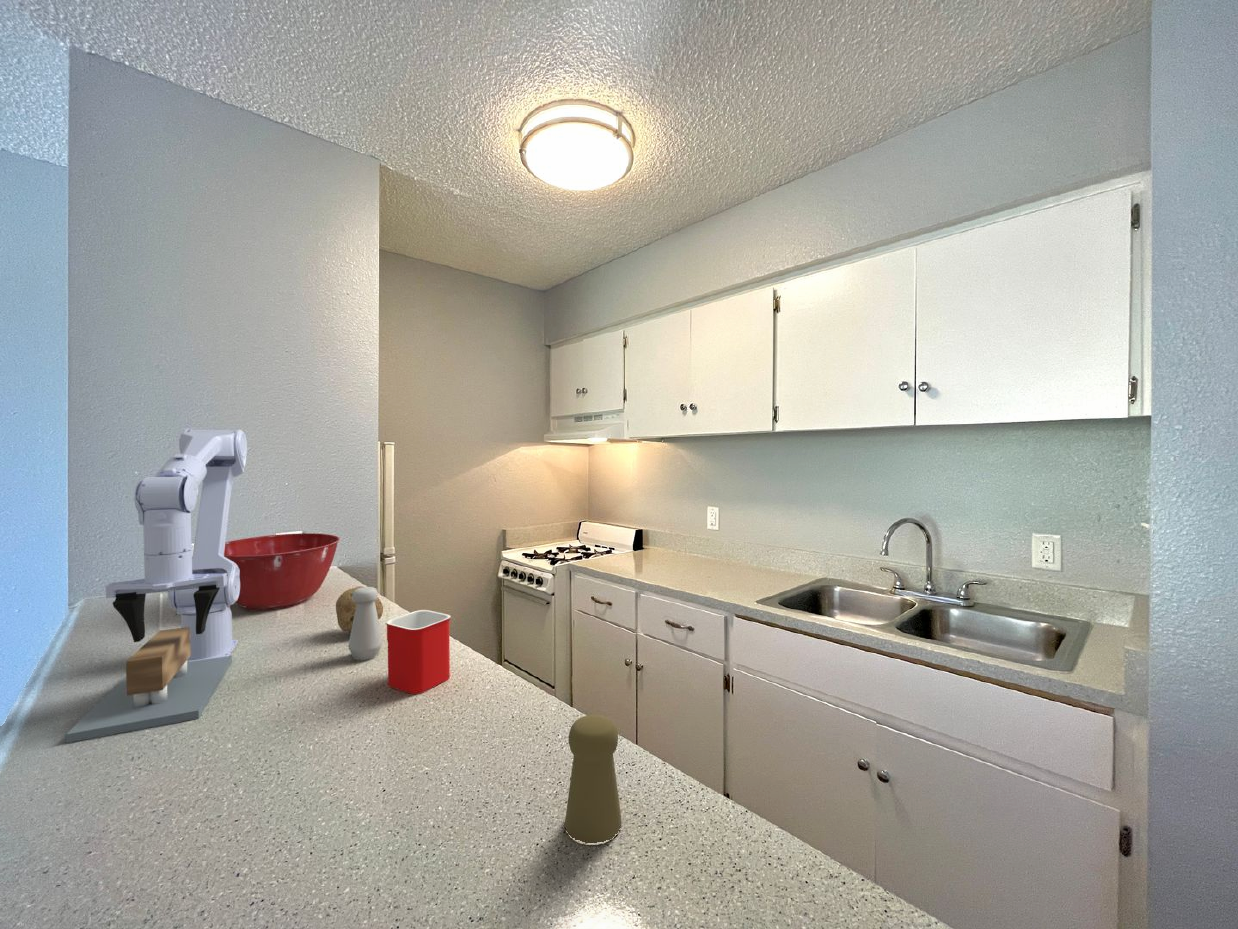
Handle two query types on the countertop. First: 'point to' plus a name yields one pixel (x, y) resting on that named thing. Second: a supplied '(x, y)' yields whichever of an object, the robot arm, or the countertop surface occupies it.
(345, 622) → the natural sponge
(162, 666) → the wooden block
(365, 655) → the salt shaker
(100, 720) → the peg rack
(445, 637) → the red rectangular container
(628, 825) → the countertop surface
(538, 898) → the countertop surface
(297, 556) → the mixing bowl
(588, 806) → the olive pawn
